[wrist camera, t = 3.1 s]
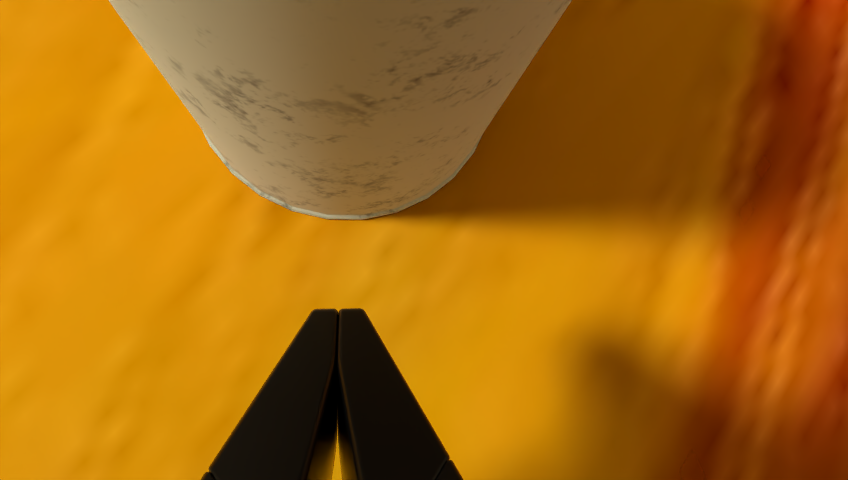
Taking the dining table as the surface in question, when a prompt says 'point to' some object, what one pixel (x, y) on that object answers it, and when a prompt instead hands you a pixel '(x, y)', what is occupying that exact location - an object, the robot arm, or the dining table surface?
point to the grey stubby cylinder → (342, 89)
